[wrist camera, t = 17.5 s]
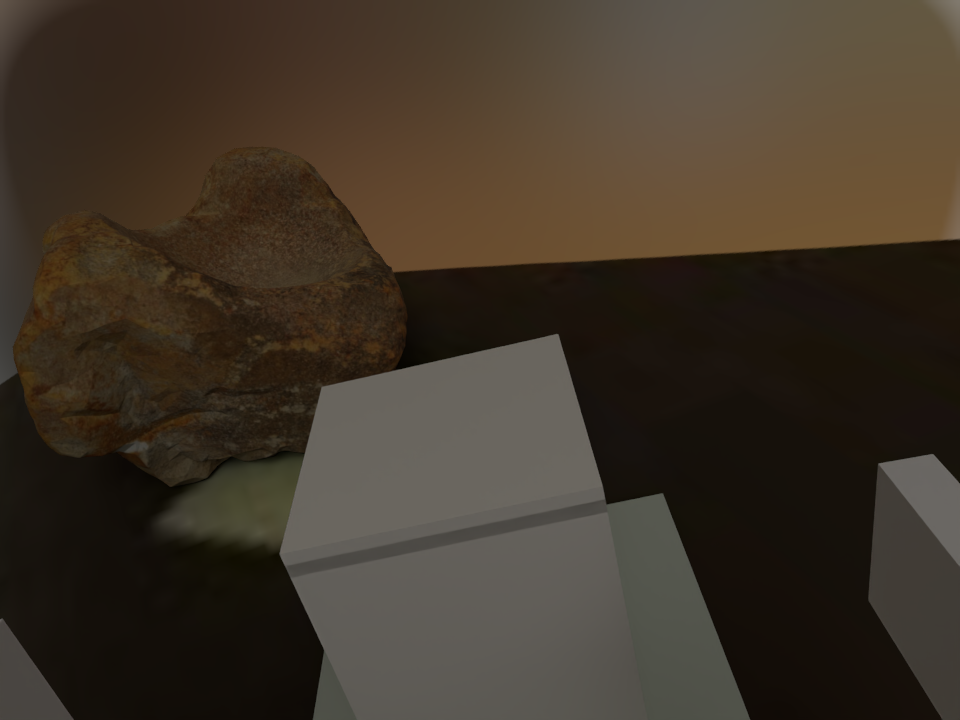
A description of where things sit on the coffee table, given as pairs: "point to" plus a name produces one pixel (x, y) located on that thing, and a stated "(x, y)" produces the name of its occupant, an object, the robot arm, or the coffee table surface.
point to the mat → (643, 625)
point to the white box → (463, 545)
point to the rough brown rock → (206, 322)
